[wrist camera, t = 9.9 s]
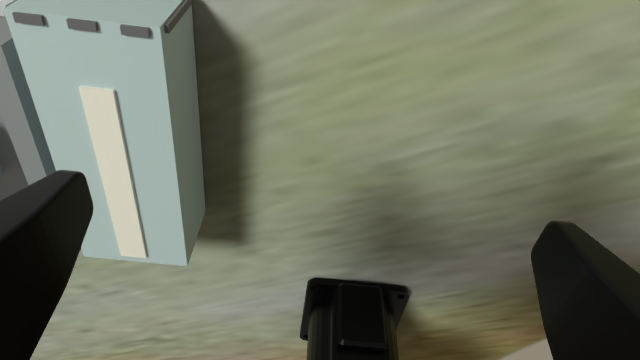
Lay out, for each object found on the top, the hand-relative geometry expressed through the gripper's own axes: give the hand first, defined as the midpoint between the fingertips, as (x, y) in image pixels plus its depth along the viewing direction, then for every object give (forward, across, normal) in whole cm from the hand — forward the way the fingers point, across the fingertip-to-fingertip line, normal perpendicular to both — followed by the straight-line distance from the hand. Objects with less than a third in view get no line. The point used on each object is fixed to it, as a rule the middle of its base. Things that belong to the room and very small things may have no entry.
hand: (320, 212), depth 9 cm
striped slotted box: (+12, +8, +6) cm, 16 cm away
